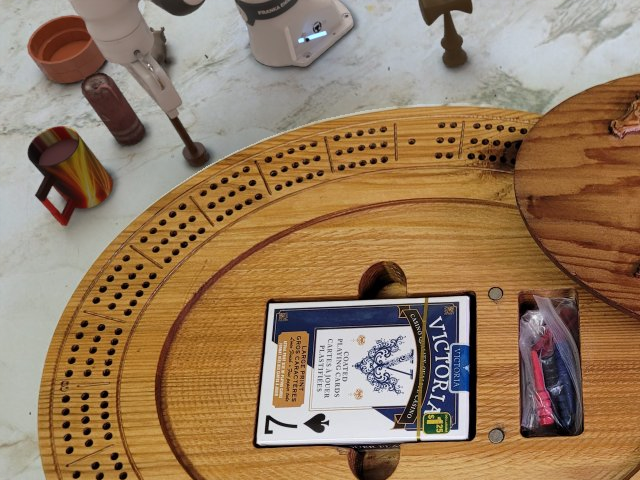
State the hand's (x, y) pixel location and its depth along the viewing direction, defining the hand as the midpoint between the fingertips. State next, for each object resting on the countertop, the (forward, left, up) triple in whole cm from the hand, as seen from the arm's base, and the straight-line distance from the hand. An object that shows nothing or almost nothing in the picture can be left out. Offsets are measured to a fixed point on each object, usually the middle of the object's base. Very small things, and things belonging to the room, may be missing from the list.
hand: (161, 100), depth 148 cm
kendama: (-53, +15, -16) cm, 57 cm away
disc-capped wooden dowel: (0, 0, -16) cm, 16 cm away
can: (+7, -15, -16) cm, 23 cm away
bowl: (+6, -43, -16) cm, 46 cm away
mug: (+21, -7, -16) cm, 27 cm away
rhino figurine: (-8, -29, -16) cm, 34 cm away
